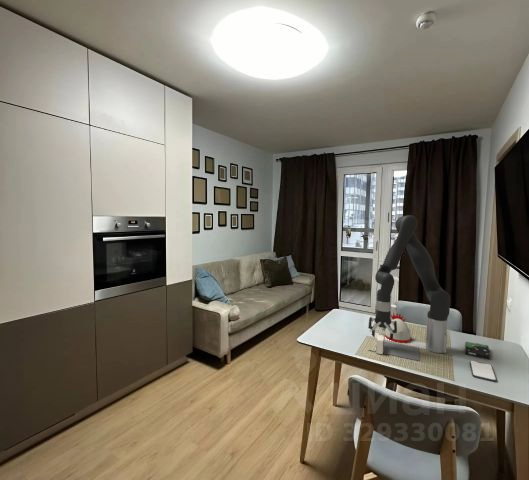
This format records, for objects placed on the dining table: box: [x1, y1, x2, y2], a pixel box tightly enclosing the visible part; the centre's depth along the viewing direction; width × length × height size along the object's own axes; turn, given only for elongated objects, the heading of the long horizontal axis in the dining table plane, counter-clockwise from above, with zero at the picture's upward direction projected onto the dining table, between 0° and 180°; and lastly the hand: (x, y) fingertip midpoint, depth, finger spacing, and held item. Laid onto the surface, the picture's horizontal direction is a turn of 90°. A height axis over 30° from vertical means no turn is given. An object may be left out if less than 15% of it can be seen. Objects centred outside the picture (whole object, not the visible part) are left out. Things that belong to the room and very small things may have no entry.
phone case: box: [469, 360, 498, 383], centre depth 134 cm, size 9×2×16 cm
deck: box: [375, 333, 386, 355], centre depth 154 cm, size 3×7×10 cm
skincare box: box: [380, 303, 398, 331], centre depth 185 cm, size 8×7×16 cm
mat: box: [383, 341, 420, 362], centre depth 156 cm, size 24×16×1 cm, turn 63°
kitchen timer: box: [384, 312, 412, 344], centre depth 171 cm, size 14×14×15 cm
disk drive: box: [464, 341, 491, 361], centre depth 155 cm, size 10×3×15 cm
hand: (382, 338), depth 158 cm, fingers open, 8 cm apart
